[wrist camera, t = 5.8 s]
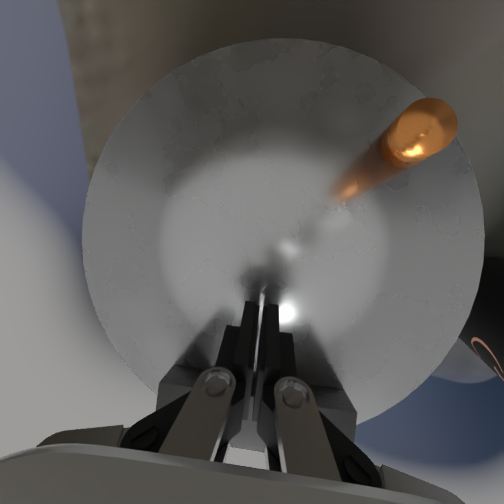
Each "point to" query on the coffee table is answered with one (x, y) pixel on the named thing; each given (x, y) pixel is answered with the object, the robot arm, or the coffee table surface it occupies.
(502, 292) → the coffee jar
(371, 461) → the robot arm
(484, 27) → the coffee table surface
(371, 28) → the coffee table surface
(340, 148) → the cooker lid
